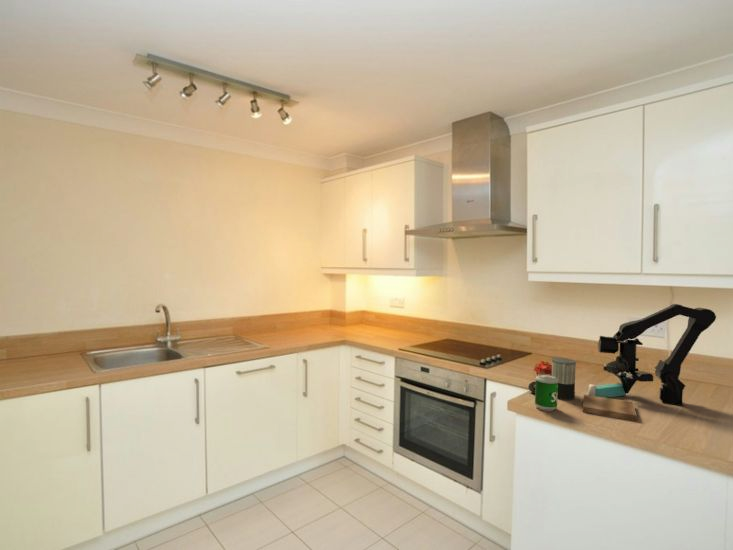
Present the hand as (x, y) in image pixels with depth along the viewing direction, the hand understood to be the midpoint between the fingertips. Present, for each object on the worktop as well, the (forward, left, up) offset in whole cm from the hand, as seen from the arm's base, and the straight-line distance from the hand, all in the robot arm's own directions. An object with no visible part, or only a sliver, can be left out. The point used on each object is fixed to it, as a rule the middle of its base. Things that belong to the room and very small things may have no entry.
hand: (626, 393), depth 160 cm
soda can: (+27, +32, -2) cm, 42 cm away
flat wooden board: (+7, +21, -2) cm, 22 cm away
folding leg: (+7, +4, -1) cm, 8 cm away
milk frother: (+27, +13, -2) cm, 30 cm away
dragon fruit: (+31, -12, -2) cm, 34 cm away
